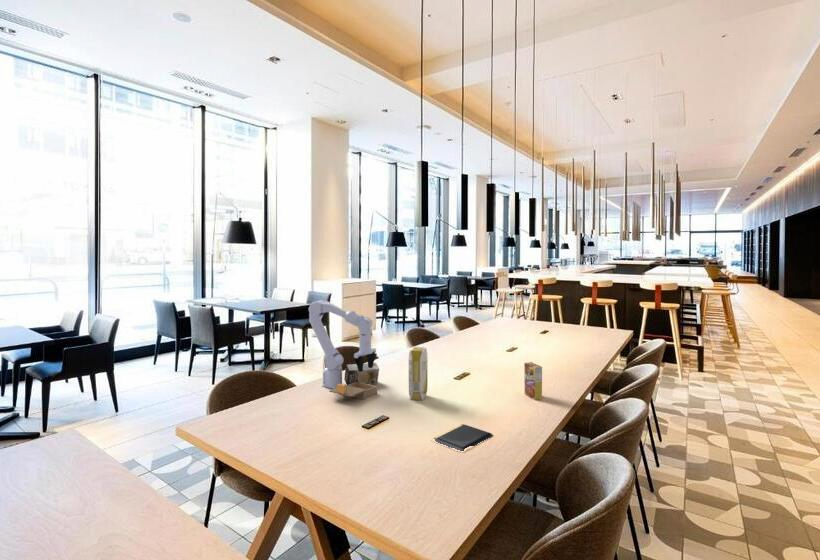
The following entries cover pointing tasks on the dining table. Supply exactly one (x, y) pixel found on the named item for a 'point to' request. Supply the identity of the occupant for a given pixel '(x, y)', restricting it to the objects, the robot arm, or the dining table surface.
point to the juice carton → (418, 373)
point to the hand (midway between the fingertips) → (365, 369)
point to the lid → (347, 390)
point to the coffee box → (361, 374)
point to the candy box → (533, 380)
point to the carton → (369, 391)
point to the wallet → (462, 437)
